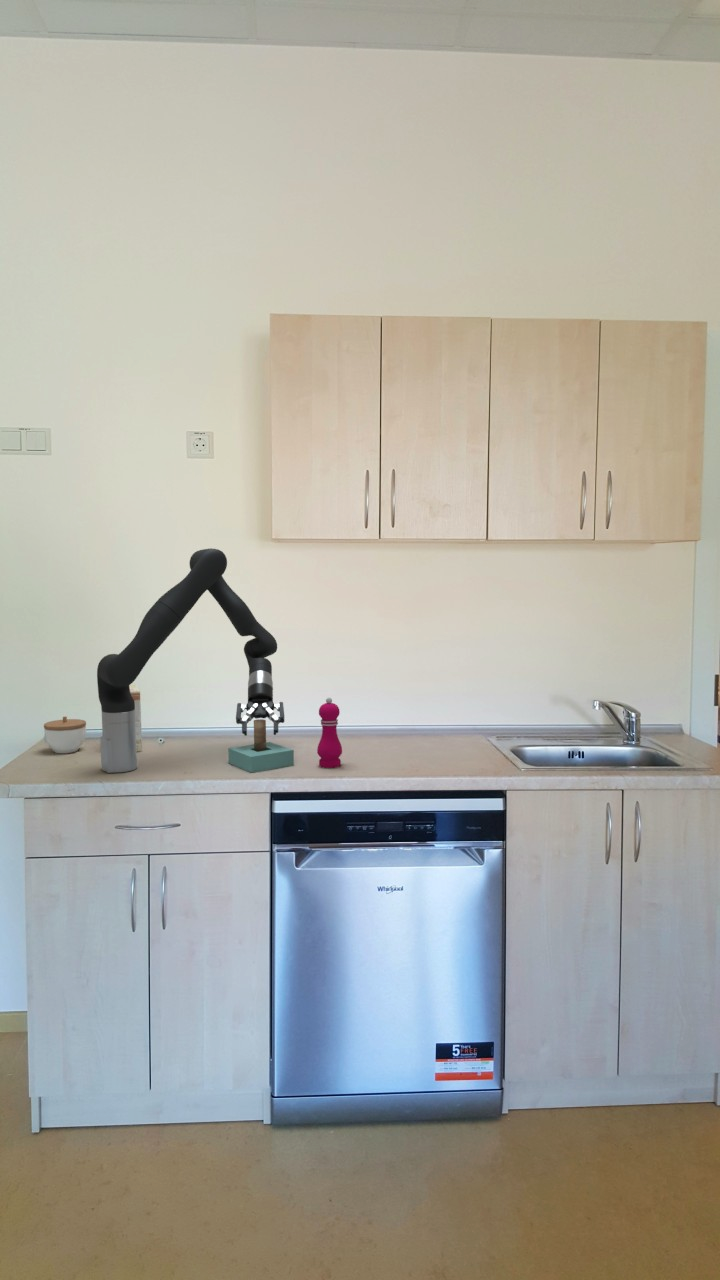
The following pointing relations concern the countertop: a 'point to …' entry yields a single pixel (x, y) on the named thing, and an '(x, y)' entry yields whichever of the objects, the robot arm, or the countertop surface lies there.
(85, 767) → the countertop surface
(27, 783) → the countertop surface
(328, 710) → the pepper mill
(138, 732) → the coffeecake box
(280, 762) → the socket block
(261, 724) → the peg
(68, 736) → the lidded bowl
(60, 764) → the countertop surface
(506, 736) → the countertop surface
